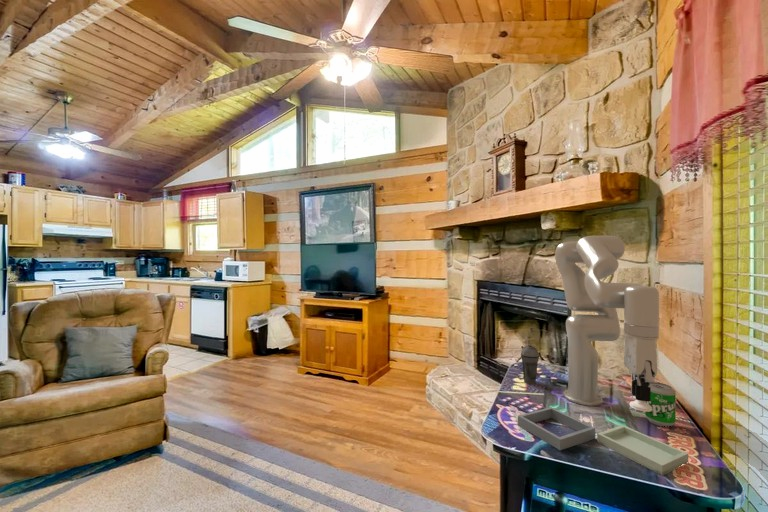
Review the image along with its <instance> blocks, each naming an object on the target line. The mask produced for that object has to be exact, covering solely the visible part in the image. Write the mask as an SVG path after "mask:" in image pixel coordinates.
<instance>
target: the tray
mask: <svg viewBox="0 0 768 512" xmlns="http://www.w3.org/2000/svg"><path fill="white" fill-rule="evenodd" d="M596 442H597V443H598V444H600V445H602V446H603V447H606V448H607V449H610V450H612V451H613V452H616V453H617V454H619V455H622V457H625V458H627V459H629V460H631V461H632V462H635V463H637V464H638V465H640V464H641V466H642V467H644V468H647V469H649V470H650V471H652V472H654V473H656V474H658V475H660V476H664V475H667V474H668V473H671V472H673V471H675V470H677V469H679V468H680V467H679V466H681V465H682V464H685V463H687V462H688V463H689V452H686V451H683V450H681V449H679V448H676V447H674V446H672V445H670V444H668V443H665V442H662V441H660V440H658V439H656V438H653V437H651V436H649V435H647V434H644V433H643V432H640V431H637V430H636V429H633V428H631V427H629V426H626V425H624V424H622V425H618V426H615V427H612V428H609V429H606V430H604V431H601V432H597V433H596ZM678 467H679V468H678ZM681 467H682V466H681ZM676 468H677V469H676ZM674 469H675V470H674Z"/></svg>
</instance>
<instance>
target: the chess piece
mask: <svg viewBox="0 0 768 512" xmlns="http://www.w3.org/2000/svg"><path fill="white" fill-rule="evenodd" d="M641 374H643V373H641ZM642 378H643V377H641V379H642ZM636 379H637V377H636ZM629 406H630V408H632V409H635V410H637V411H640V412H644V413H645V412H650V411H652V407H651V406H650V405H649V404H647V403H646V402H645V401H640V400H636V399H635V400H632V401H631V400H630V402H629Z"/></svg>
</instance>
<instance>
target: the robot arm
mask: <svg viewBox="0 0 768 512" xmlns="http://www.w3.org/2000/svg"><path fill="white" fill-rule="evenodd" d="M625 247H626V246H625V244H624V242H623V240H622V239H621V238H620V237H619V236H616V235H586V236H584V237H581V238H579V240H577V241H576V240H575V241H565V242H561V243H560V244H558V245H557V246H556V248H555V250H554V261H555V264H556V267H557V269H558V271H559V273H560V276H561V279H562V284H563V290H564V291H563V292H564V296H565V302H566V306H567V307H568V309H569V310H571V311H572V312H584V313H588V312H589V313H596V314H584V313H583V314H572V315H570V316H568V317H567V318H566V320H565V330H566V336H567V345H568V347H567V348H568V350H567V351H568V354H567V355H568V357H567V359H568V361H567V363H568V365H567V366H568V367H567V368H568V371H567V373H568V374H567V375H568V376H567V377H568V379H567V383H568V384H567V385H568V387H567V389H565V390H563V396H564V398H565V399H566V400H568V401H570V402H572V403H576V404H579V405H581V406H582V405H583V406H588V407H589V406H590V407H591V406H592V407H594V406H596V407H597V406H601V405H603V403H604V402H603V398H602V397H601V396H600V395H599V393H601V392H603V391H605V388H604V386H603V385H599V384H598V383H599V381H598V380H599V379H598V378H599V375H598V374H599V373H598V372H599V366H598V365H599V363H598V362H599V361H598V360H599V355H598V354H599V353H598V352H597V350H596V348H595V347H594V345H593V344H592V343H591V342H594V341H595V342H615V341H617V340H618V339H620V335H621V326H620V325H621V324H620V321H619V315H618V310H617V309H623V311H624V312H623V313H624V314H623V316H624V317H623V318H624V319H623V320H624V321H623V322H624V324H623V332H624V333H623V335H624V336H625V339H624V340H625V341H624V352H623V353H624V354H623V365H624V367H626V369H627V370H629V372H630V373H631V372H632V380H633V381H632V383H631V387H632V392H631V395H632V396H635V398H636V399H637V400H640V401H648V402H649V401H650V390H651V383H652V382H653V380H652V377H654V378H655V377H657V374H658V357H657V356H658V355H657V354H658V353H657V352H658V351H657V341H656V340H659V339H660V330H659V329H660V323H659V322H660V320H659V319H660V318H659V317H660V316H659V315H660V312H659V311H660V310H659V309H660V292H659V290H658V288H656V287H654V286H650V285H649V286H647V285H643V284H639V283H634V282H633V283H632V282H631V283H630V282H627V283H626V282H604V281H603V282H602V281H601V280H603V279H605V278H607V277H610V276H612V275H613V274H615V272H617V270H618V269H619V261H618V260H619V259H620V258H622V257H623V256H624V254H625V251H626V250H625V249H626V248H625ZM577 264H585V265H586V267H587V268H588V269H587V271H586V273H585V271H584V270H583V269H582V268H581V267H580V266H579V265H577ZM641 373H643V374H641ZM636 377H637V379H636ZM641 377H643V378H642V379H641ZM636 399H635V400H636Z"/></svg>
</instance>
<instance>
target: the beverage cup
mask: <svg viewBox="0 0 768 512" xmlns="http://www.w3.org/2000/svg"><path fill="white" fill-rule="evenodd" d="M528 336H529V335H528V334H526V336H525V337H526V344H527V345H525V346H523V347H522V348H521V352H520V357H521V363H522V375H523V382H524V384H528V385H535V384H536V382H537V381H536V380H537V375H538V374H537V373H538V365H539V364H538V363H539V359H540V354H539V351H538V349H537V348H536V347H535V346H533V345H531V344H530V345H529V343H530V342H529V337H528Z"/></svg>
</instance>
